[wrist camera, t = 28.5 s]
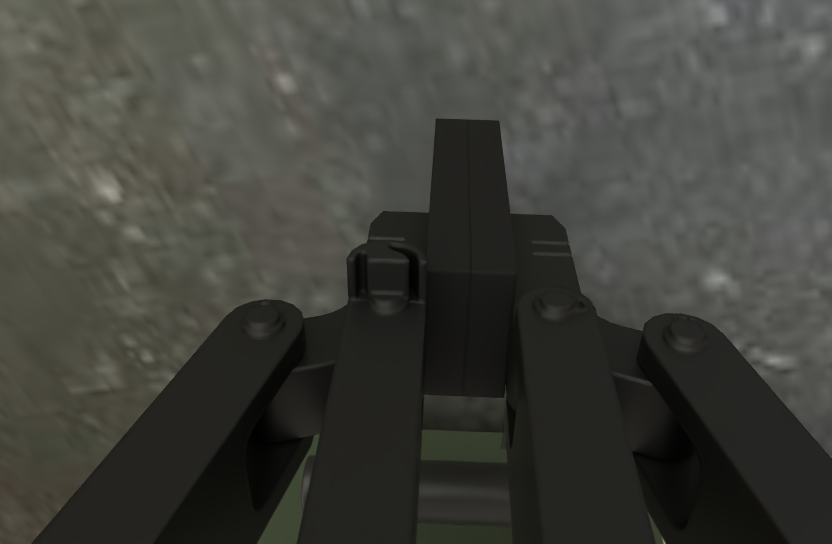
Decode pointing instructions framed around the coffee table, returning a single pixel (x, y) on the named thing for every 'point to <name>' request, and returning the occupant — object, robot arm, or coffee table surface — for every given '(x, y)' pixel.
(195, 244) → the coffee table surface
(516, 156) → the coffee table surface
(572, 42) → the coffee table surface
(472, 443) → the green-front drawer
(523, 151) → the coffee table surface
